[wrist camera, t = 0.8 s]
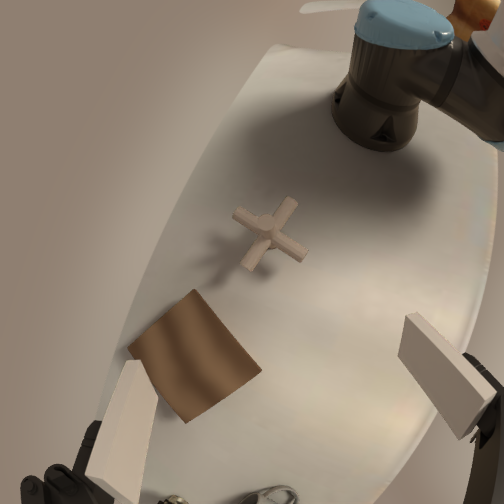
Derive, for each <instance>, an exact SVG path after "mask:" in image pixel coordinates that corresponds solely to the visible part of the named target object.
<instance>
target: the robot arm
mask: <svg viewBox="0 0 504 504" xmlns="http://www.w3.org/2000/svg"><path fill="white" fill-rule="evenodd" d="M354 30H355V37H354V43H353V49H352V55H351V61H350V67H349V72H348V74H347V75H346V77H345V78H344V79H343V81H342V82H341V83H340V85H339V86H338V87H337V89H336V90H335V92H334V95H333V100H332V115H333V118H334V120H335V122H336V124H337V125H338V127H339V128H340V129H341V131H342V132H343V133H344V134H345V135H346V136H348V137H349V138H350V139H351V140H353V141H354V142H356V143H358V144H359V145H361V146H364V147H366V148H369V149H372V150H376V151H384V152H388V151H395V150H399V149H401V148H403V147H404V146H406V145H407V144H408V143H409V142H410V140H411V139H412V137H413V136H414V134H415V132H416V129H417V123H418V109H419V103H420V101H421V100H422V101H424V102H426V103H428V104H430V105H432V106H433V107H435V108H437V109H438V110H440V111H442V112H443V113H445V114H447V115H448V116H450V117H451V118H453V119H454V120H456V121H458V122H459V123H461V124H462V125H464V126H465V127H467V128H468V129H469V130H471V131H472V132H474V133H475V134H476V135H477V136H478V137H479V138H480V139H481V140H483V141H485V142H486V143H489V144H491V145H492V146H494V147H495V148H496V149H498V150H500V151H502V152H504V0H502V1H501V3H500V5H499V7H498V9H497V12H496V14H495V16H494V18H493V20H492V22H491V24H490V27H489V29H488V30H487V31H473V33H472V34H471V36H470V38H469V40H468V42H466V41H464V40H462V39H460V38H459V37H457V36H455V35H454V29H453V26H452V25H451V23H450V22H449V21H448V20H447V19H446V18H445V17H444V16H443V15H441V14H438V13H437V12H436V11H435V10H434V9H432V8H430V7H428V6H426V5H424V4H421V3H419V2H416V1H413V0H367V1H365V2H364V3H363V4H362V5H361V7H360V11H359V14H358V19H357V22H356V23H355V26H354ZM398 357H399V359H400V360H401V361H402V362H403V364H404V365H405V366H406V368H407V369H408V370H409V372H410V373H411V374H412V376H413V377H414V378H415V380H416V381H417V382H418V384H419V385H420V386H421V388H422V389H423V390H424V392H425V393H426V395H427V396H428V397H429V399H430V400H431V401H432V403H433V404H434V406H435V407H436V408H437V410H438V411H439V413H440V414H441V415H442V417H443V418H444V420H445V421H446V422H447V424H448V425H449V427H450V428H451V430H452V431H453V433H454V434H455V436H456V437H457V439H458V440H460V439H462V438H463V437H465V436H466V435H468V434H469V433H471V432H472V430H473V429H474V427H475V426H476V425H477V426H478V427H479V429H478V430H477V432H476V433H475V434H474V436H473V437H472V438H471V441H470V443H472V442H473V441H474V439H475V438H476V441H475V450H474V457H473V464H472V468H471V474H470V478H469V483H468V487H467V491H466V495H465V499H464V502H463V504H504V387H503V386H502V385H501V384H500V383H499V382H498V381H497V380H496V379H495V378H494V377H493V376H492V374H491V373H490V372H489V371H488V370H486V368H485V367H484V366H483V365H481V363H480V362H479V361H478V360H477V359H475V357H473V356H472V355H469V354H468V353H466V352H465V353H463V354H461V353H460V352H459V351H458V350H457V349H456V348H455V347H454V346H453V345H452V344H451V343H450V342H449V341H447V340H446V339H445V338H444V337H443V336H442V335H441V334H440V333H439V332H438V331H437V330H436V329H435V328H434V327H433V326H432V325H431V324H430V323H429V322H428V321H427V320H425V319H424V318H423V317H422V316H421V315H420V314H419V313H418V312H415V313H412V314H408V315H406V316H405V322H404V328H403V333H402V338H401V343H400V348H399V352H398ZM157 402H158V396H157V394H156V392H155V390H154V388H153V386H152V384H151V382H150V380H149V377H148V375H147V373H146V371H145V369H144V367H143V364H142V362H141V360H126V363H125V365H124V368H123V370H122V372H121V375H120V377H119V380H118V382H117V385H116V387H115V390H114V392H113V395H112V397H111V400H110V402H109V405H108V408H107V410H106V413H105V416H104V418H103V421H97V420H94V422H93V423H92V424H91V425H90V426H89V427H88V428H87V431H86V433H85V436H84V439H83V441H82V444H81V445H82V446H81V447H80V449H79V452H78V455H77V458H76V461H75V464H74V466H73V469H72V471H71V470H69V469H68V468H67V467H66V466H64V465H62V464H54V465H52V466H50V467H48V469H47V470H46V471H45V474H44V482H43V481H41V480H40V479H39V478H37V477H36V476H32V475H30V476H27V477H25V478H24V479H23V481H22V482H21V487H20V489H21V503H22V504H114V499H116V500H117V501H119V502H120V503H122V504H138V503H139V497H140V490H141V484H142V478H143V472H144V467H145V461H146V456H147V450H148V445H149V440H150V435H151V430H152V425H153V421H154V416H155V411H156V407H157Z"/></svg>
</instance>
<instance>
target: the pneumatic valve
mask: <svg viewBox="0 0 504 504" xmlns="http://www.w3.org/2000/svg"><path fill="white" fill-rule="evenodd" d="M157 504H188V502H185V500H184V499H182V498H180V497H176V495H172V496H171V497H170V498H169V500H167V499H166V500H165V501H164V502H162V501H159V502H158V503H157Z"/></svg>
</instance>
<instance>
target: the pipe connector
mask: <svg viewBox="0 0 504 504" xmlns="http://www.w3.org/2000/svg"><path fill="white" fill-rule="evenodd" d="M297 205H298V203H297V202H296V201H295V200H294V199H293V198H291V197H289V196H286V197H285V199H284V200H283V202H282V203H281V204H280V206H279V207H278V209H277V210H276V212H275V213H274V214H273V216H271V215H270V214H263V215H261V216H260V217H259V218H258V217H257V216H255V215H253V214H252V213H250V212H249V211H247V210H245V209H244V208H242V207H241V206H239V207H238V208H237V209H236V210H235V211H234V213H233V216H232V218H233V219H234V220H236V221H237V222H239V223H241V224H242V225H244V226H245V227H247V228H248V229H250V230H251V231H253V232H254V233H256V234H257V235H259V236H258V237H257V239H256V240H255V242H254V243H253V244H252V246H251V247H250V249H249V250H248V252H247V253H246V254H245V256H244V257H243V259H242V260H241V262H240V264H241V265H242V266H244V267H245V268H247V269H248V270H250V271H251V272H252V271H253V269H254V268H255V266H256V265H257V263H258V262H259V261H260V259H261V258H262V256H263V255H264V253H265V252H266V250H267V249H268V248H270V249H274V248H276V247H277V248H279V249H280V250H282V251H283V252H285V253H286V254H288V255H289V256H291V257H292V258H294V259H295V260H297V261H298V262H300V263H301V262H302V260H303V259H304V257H305V256H306V254H307V252H308V251H309V250H307V249H306V248H304V247H303V246H301V245H300V244H298V243H297V242H295V241H294V240H292V239H291V238H289V237H288V236H286V235H285V234H283V233H282V232H280V230H281V229H282V227H283V226H284V224H285V223H286V221H287V220H288V219H289V217H290V216H291V214H292V213H293V211H294V210H295V208H296V207H297Z"/></svg>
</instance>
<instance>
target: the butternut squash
mask: <svg viewBox="0 0 504 504" xmlns="http://www.w3.org/2000/svg"><path fill="white" fill-rule="evenodd" d="M500 3H501V1H500V0H455V4H454V9H453V12H452V13H451V14H450V15H449V16H448V17H446V19H447V20H448V21H449V22H450V23H451V25H452V26H453V29H454V35H455V36H457V37H459V38H460V39H462V40H464V41H466V42H468V40H469V38H470V36H471V34H472V33H473V31H487V30H488V29H489V27H490V24H491V22H492V20H493V18H494V16H495V14H496V12H497V9H498V7H499V5H500Z"/></svg>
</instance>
